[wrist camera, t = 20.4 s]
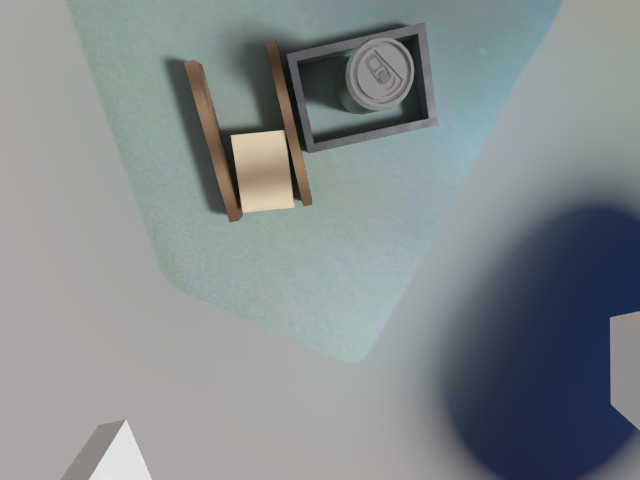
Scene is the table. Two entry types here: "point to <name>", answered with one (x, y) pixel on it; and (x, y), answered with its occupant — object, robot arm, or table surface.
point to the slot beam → (216, 141)
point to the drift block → (263, 170)
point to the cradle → (340, 48)
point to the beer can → (375, 76)
